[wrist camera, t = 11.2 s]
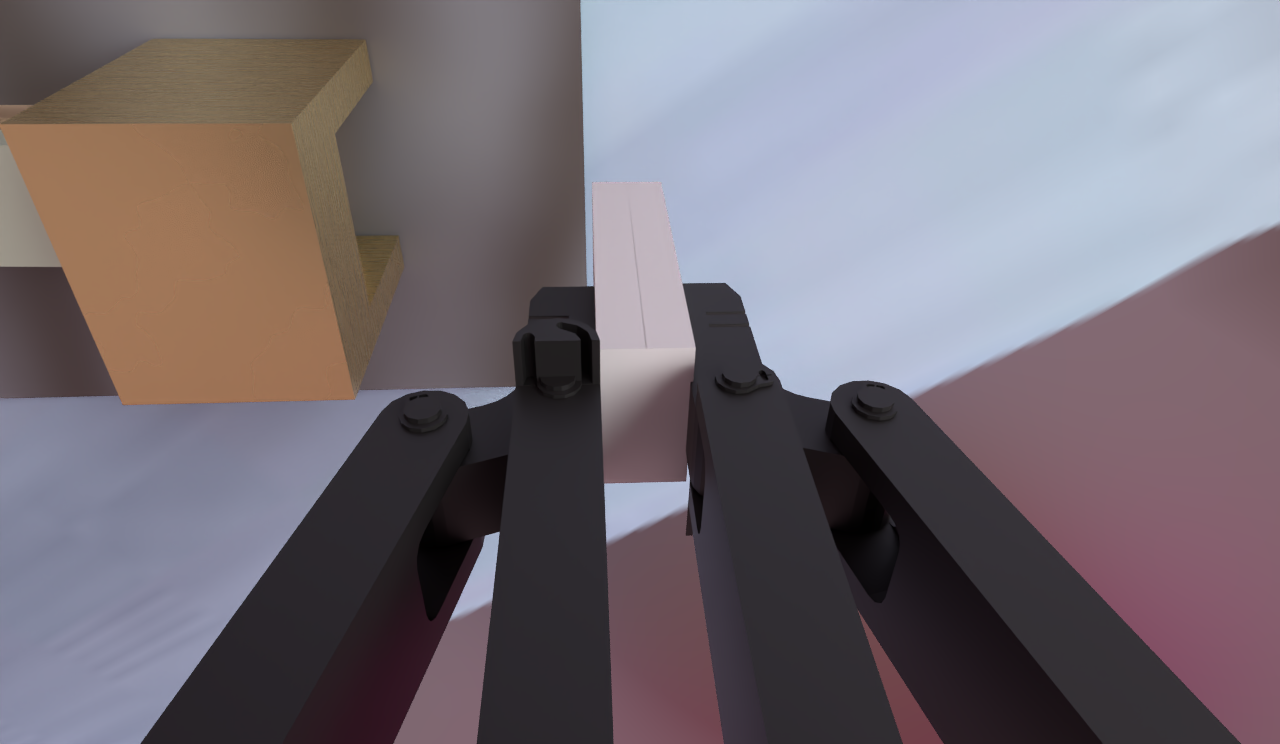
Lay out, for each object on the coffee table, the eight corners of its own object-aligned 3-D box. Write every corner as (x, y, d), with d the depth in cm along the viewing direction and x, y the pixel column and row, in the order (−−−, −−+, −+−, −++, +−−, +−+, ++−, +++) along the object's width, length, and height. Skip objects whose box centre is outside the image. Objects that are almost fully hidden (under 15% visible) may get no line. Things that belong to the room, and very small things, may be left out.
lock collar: (224, 269, 23) (122, 405, 18) (152, 38, 19) (-1, 124, 14) (404, 267, 23) (355, 399, 18) (365, 39, 20) (290, 123, 14)
